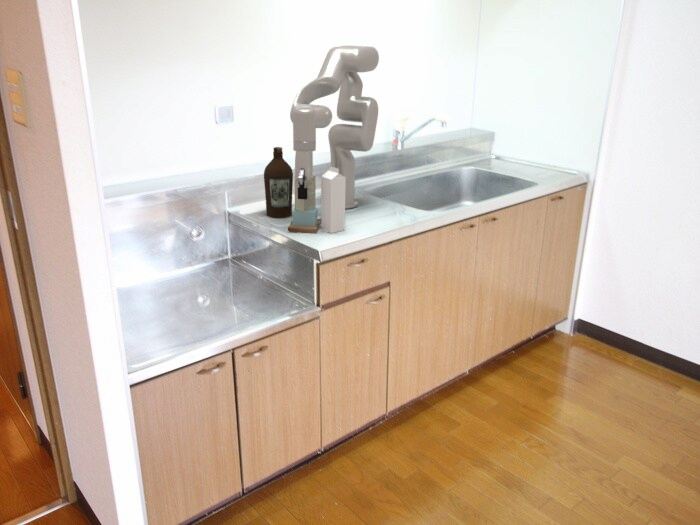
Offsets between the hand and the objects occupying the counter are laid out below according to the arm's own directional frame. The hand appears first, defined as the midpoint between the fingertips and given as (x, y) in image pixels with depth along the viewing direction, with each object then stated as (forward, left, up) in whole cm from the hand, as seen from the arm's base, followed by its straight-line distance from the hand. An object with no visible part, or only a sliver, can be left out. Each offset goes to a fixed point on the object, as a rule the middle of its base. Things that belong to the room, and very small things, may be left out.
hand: (304, 195), depth 213 cm
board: (0, 0, -12) cm, 12 cm away
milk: (+1, +10, -12) cm, 16 cm away
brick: (0, 0, -10) cm, 10 cm away
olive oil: (-14, -12, -12) cm, 22 cm away
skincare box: (0, 0, -5) cm, 5 cm away
